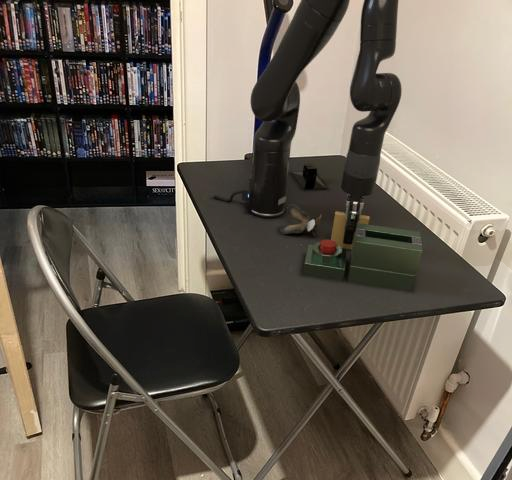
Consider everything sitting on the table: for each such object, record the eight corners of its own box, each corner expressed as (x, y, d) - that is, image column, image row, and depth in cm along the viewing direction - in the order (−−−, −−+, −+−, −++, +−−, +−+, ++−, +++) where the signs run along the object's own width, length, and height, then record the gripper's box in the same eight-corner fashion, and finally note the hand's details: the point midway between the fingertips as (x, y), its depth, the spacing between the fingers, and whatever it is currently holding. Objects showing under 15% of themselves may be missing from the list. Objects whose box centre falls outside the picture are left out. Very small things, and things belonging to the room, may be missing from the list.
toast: (329, 246, 138) (335, 214, 133) (330, 243, 140) (335, 211, 134) (362, 251, 138) (369, 218, 132) (362, 248, 139) (369, 216, 134)
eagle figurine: (319, 222, 146) (285, 211, 146) (325, 208, 139) (290, 196, 139) (310, 248, 143) (276, 236, 143) (316, 234, 136) (280, 222, 136)
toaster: (347, 281, 126) (355, 241, 120) (349, 261, 133) (356, 222, 127) (411, 291, 125) (422, 251, 119) (409, 270, 132) (420, 231, 126)
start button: (318, 252, 126) (319, 245, 125) (319, 245, 129) (321, 238, 128) (334, 255, 126) (336, 248, 125) (335, 247, 128) (336, 240, 127)
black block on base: (291, 173, 174) (293, 158, 171) (313, 173, 175) (316, 158, 172) (303, 190, 164) (305, 174, 161) (327, 189, 166) (329, 173, 163)
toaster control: (302, 274, 127) (305, 255, 124) (306, 255, 134) (309, 236, 131) (342, 281, 126) (346, 261, 123) (344, 261, 133) (348, 242, 130)
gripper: (345, 157, 133) (334, 224, 143) (342, 179, 122) (330, 251, 132) (377, 161, 132) (364, 228, 143) (377, 184, 121) (362, 255, 131)
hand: (347, 239), depth 137 cm, fingers open, 3 cm apart
